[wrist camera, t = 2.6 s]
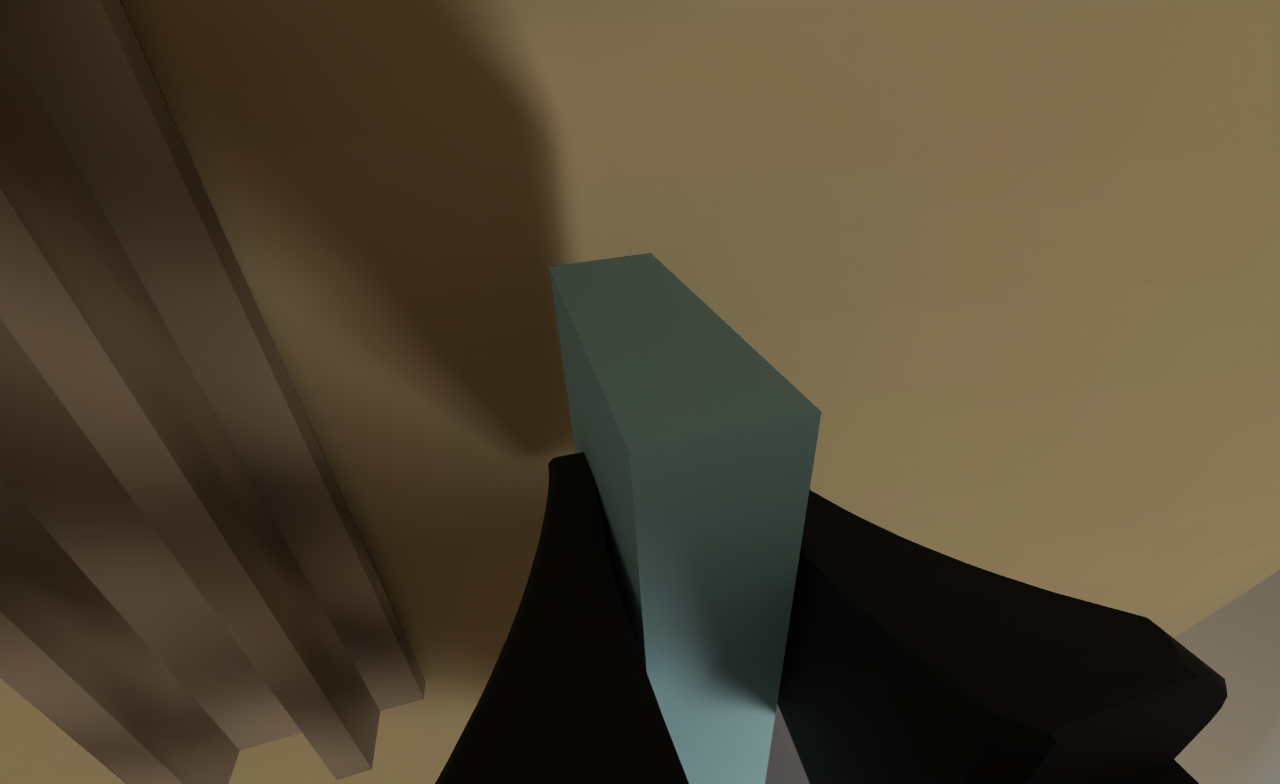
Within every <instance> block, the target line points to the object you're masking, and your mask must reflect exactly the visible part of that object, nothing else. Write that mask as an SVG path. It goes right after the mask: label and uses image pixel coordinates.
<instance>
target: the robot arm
mask: <svg viewBox="0 0 1280 784" xmlns="http://www.w3.org/2000/svg"><path fill="white" fill-rule="evenodd" d="M548 466H549V490H548V498H547V505H546V511H545V516H544V521H543V526H542V531H541V536H540V540H539V544H538V548H537V551H536V555H535V558H534V562H533V565H532V569H531V572H530V576H529V579H528V582H527V585H526V588H525V591H524V594H523V597H522V600H521V603H520V606H519V609H518V611H517V614H516V617H515V619H514V622H513V624H512V627H511V630H510V632H509V635H508V637H507V640H506V642H505V644H504V646H503V649H502V651H501V653H500V656H499V658H498V660H497V663H496V665H495V667H494V670H493V672H492V674H491V676H490V679H489V681H488V683H487V685H486V687H485V689H484V691H483V693H482V696H481V698H480V700H479V702H478V704H477V706H476V708H475V709H474V711H473V713H472V715H471V717H470V719H469V721H468V723H467V725H466V727H465V729H464V731H463V733H462V734H461V736H460V738H459V740H458V742H457V744H456V746H455V748H454V750H453V752H452V754H451V756H450V758H449V760H448V761H447V763H446V765H445V767H444V769H443V771H442V772H441V774H440V776H439V778H438V779H437V781H436V783H435V784H689V782H688V780H687V777H686V774H685V772H684V769H683V767H682V764H681V762H680V759H679V757H678V754H677V751H676V749H675V746H674V744H673V741H672V739H671V736H670V733H669V731H668V728H667V726H666V723H665V721H664V718H663V715H662V713H661V710H660V707H659V704H658V702H657V699H656V696H655V694H654V691H653V688H652V685H651V683H650V680H649V677H648V674H647V672H646V669H645V666H644V664H643V661H642V658H641V655H640V652H639V649H638V647H637V644H636V641H635V638H634V635H633V632H632V629H631V626H630V623H629V621H628V618H627V615H626V612H625V609H624V606H623V603H622V600H621V597H620V594H619V591H618V588H617V585H616V582H615V579H614V575H613V572H612V569H611V565H610V561H609V557H608V552H607V547H606V542H605V536H604V530H603V525H602V519H601V513H600V508H599V502H598V496H597V491H596V485H595V479H594V476H593V473H592V471H591V468H590V466H589V463H588V461H587V459H586V456H585V454H584V452H581V453H576V454H571V455H566V456H561V457H555V458H553V459H552V460H551V461H550V462H549V464H548ZM1226 697H1227V690H1226V684H1225V679H1224V678H1223V677H1221V676H1220V675H1219V674H1217V673H1216V672H1215V671H1214V670H1213V669H1211V668H1210V667H1209V666H1208V665H1206V664H1205V663H1204V662H1203V661H1201V660H1200V659H1199V658H1197V657H1196V656H1195V655H1194V654H1193V653H1191V652H1190V651H1188V650H1187V649H1186V648H1185V647H1184V646H1182V645H1181V644H1180V643H1179V642H1177V641H1176V640H1175V639H1174V638H1172V637H1171V636H1170V635H1169V634H1167V633H1166V632H1165V631H1164V630H1162V629H1161V628H1160V627H1158V626H1157V625H1156V624H1155V623H1153V622H1152V621H1151V620H1149V619H1148V618H1146V617H1142V616H1139V615H1135V614H1131V613H1128V612H1124V611H1120V610H1117V609H1113V608H1109V607H1105V606H1102V605H1098V604H1094V603H1091V602H1087V601H1083V600H1080V599H1076V598H1072V597H1069V596H1065V595H1061V594H1057V593H1054V592H1051V591H1047V590H1044V589H1041V588H1038V587H1035V586H1032V585H1029V584H1026V583H1023V582H1019V581H1016V580H1013V579H1010V578H1007V577H1004V576H1001V575H998V574H995V573H992V572H989V571H987V570H984V569H981V568H978V567H975V566H972V565H970V564H967V563H964V562H962V561H959V560H957V559H954V558H951V557H949V556H946V555H944V554H941V553H939V552H936V551H934V550H931V549H929V548H926V547H924V546H921V545H919V544H917V543H914V542H912V541H910V540H907V539H905V538H903V537H900V536H898V535H896V534H894V533H892V532H890V531H887V530H885V529H883V528H881V527H879V526H877V525H875V524H873V523H871V522H868V521H866V520H864V519H862V518H860V517H858V516H856V515H854V514H852V513H850V512H848V511H847V510H845V509H843V508H841V507H839V506H837V505H836V504H834V503H832V502H830V501H828V500H827V499H825V498H823V497H821V496H820V495H818V494H816V493H814V492H812V491H811V490H809V496H808V503H807V509H806V516H805V522H804V529H803V536H802V542H801V549H800V556H799V562H798V569H797V575H796V582H795V589H794V595H793V602H792V608H791V615H790V622H789V628H788V635H787V641H786V648H785V655H784V661H783V668H782V674H781V681H780V688H779V694H778V701H777V708H776V714H775V721H774V727H773V734H772V741H771V747H770V754H769V760H768V767H767V774H766V780H765V784H1199V783H1198V782H1197V781H1196V780H1195V779H1194V778H1193V777H1192V776H1190V775H1189V774H1188V773H1187V772H1186V771H1185V770H1184V769H1183V768H1182V767H1181V766H1180V765H1179V764H1178V763H1177V762H1176V761H1175V760H1174V759H1175V757H1176V756H1177V755H1178V754H1179V753H1180V752H1181V751H1182V750H1183V749H1184V748H1185V747H1186V746H1187V745H1188V744H1189V743H1190V742H1191V741H1192V740H1193V739H1194V738H1195V736H1197V734H1198V733H1199V732H1200V731H1201V730H1202V729H1203V728H1204V727H1205V726H1206V725H1207V724H1208V723H1209V722H1210V721H1211V720H1212V718H1213V717H1214V716H1215V715H1216V714H1217V712H1218V711H1219V710H1220V709H1221V707H1222V705H1223V703H1224V701H1225V700H1226Z"/></svg>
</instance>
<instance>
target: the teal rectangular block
mask: <svg viewBox="0 0 1280 784" xmlns="http://www.w3.org/2000/svg"><path fill="white" fill-rule="evenodd" d="M549 272H550V279H551V286H552V293H553V300H554V307H555V314H556V321H557V328H558V335H559V342H560V349H561V355H562V362H563V369H564V376H565V383H566V390H567V397H568V404H569V411H570V418H571V425H572V432H573V438H574V445H575V452H576V453H581V452H584V454H585V456H586V459H587V461H588V463H589V466H590V468H591V471H592V473H593V476H594V479H595V485H596V491H597V496H598V502H599V508H600V513H601V519H602V525H603V530H604V536H605V542H606V547H607V552H608V557H609V561H610V565H611V569H612V572H613V575H614V579H615V582H616V585H617V588H618V591H619V594H620V597H621V600H622V603H623V606H624V609H625V612H626V615H627V618H628V621H629V623H630V626H631V629H632V632H633V635H634V638H635V641H636V644H637V647H638V649H639V652H640V655H641V658H642V661H643V664H644V666H645V669H646V672H647V674H648V677H649V680H650V683H651V685H652V688H653V691H654V694H655V696H656V699H657V702H658V704H659V707H660V710H661V713H662V715H663V718H664V721H665V723H666V726H667V728H668V731H669V733H670V736H671V739H672V741H673V744H674V746H675V749H676V751H677V754H678V757H679V759H680V762H681V764H682V767H683V769H684V772H685V774H686V777H687V780H688V782H689V784H765V780H766V774H767V767H768V760H769V754H770V747H771V741H772V734H773V727H774V721H775V714H776V708H777V701H778V694H779V688H780V681H781V674H782V668H783V661H784V655H785V648H786V641H787V635H788V628H789V622H790V615H791V608H792V602H793V595H794V589H795V582H796V575H797V569H798V562H799V556H800V549H801V542H802V536H803V529H804V522H805V516H806V509H807V503H808V496H809V489H810V483H811V476H812V470H813V463H814V456H815V450H816V443H817V437H818V430H819V423H820V417H821V411H820V410H819V409H818V408H817V407H816V406H814V405H813V404H812V403H811V402H810V401H809V400H808V399H807V398H806V397H805V396H804V395H803V394H802V393H800V392H799V391H798V390H797V389H796V388H795V387H794V386H793V385H792V384H791V383H790V382H789V381H788V380H786V379H785V378H784V377H783V376H782V375H781V374H780V373H779V372H778V371H777V370H776V369H775V368H774V367H773V366H771V365H770V364H769V363H768V362H767V361H766V360H765V359H764V358H763V357H762V356H761V355H760V354H759V353H757V352H756V351H755V350H754V349H753V348H752V347H751V346H750V345H749V344H748V343H747V342H746V341H745V340H744V339H742V338H741V337H740V336H739V335H738V334H737V333H736V332H735V331H734V330H733V329H732V328H731V327H730V326H728V325H727V324H726V323H725V322H724V321H723V320H722V319H721V318H720V317H719V316H718V315H717V314H716V313H714V312H713V311H712V310H711V309H710V308H709V307H708V306H707V305H706V304H705V303H704V302H703V301H702V300H701V299H699V298H698V297H697V296H696V295H695V294H694V293H693V292H692V291H691V290H690V289H689V288H688V287H687V286H685V285H684V284H683V283H682V282H681V281H680V280H679V279H678V278H677V277H676V276H675V275H674V274H673V273H672V272H670V271H669V270H668V269H667V268H666V267H665V266H664V265H663V264H662V263H661V262H660V261H659V260H658V259H656V258H655V257H654V256H653V255H652V254H651V253H647V254H640V255H632V256H625V257H618V258H610V259H603V260H595V261H588V262H580V263H573V264H565V265H558V266H550V267H549Z"/></svg>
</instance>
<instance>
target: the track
mask: <svg viewBox="0 0 1280 784" xmlns="http://www.w3.org/2000/svg"><path fill="white" fill-rule="evenodd" d="M0 678H1V679H3V680H4V681H5V682H6V683H7V684H8V685H10V686H11V687H12V688H13V689H14V690H16V691H17V692H18V693H19V694H20V695H21V696H23V697H24V698H25V699H26V700H27V701H29V702H30V703H31V704H32V705H33V706H34V707H36V708H37V709H38V710H39V711H40V712H42V713H43V714H44V715H45V716H46V717H48V718H49V719H50V720H51V721H52V722H53V723H55V724H56V725H57V726H58V727H59V728H61V729H62V730H63V731H64V732H65V733H66V734H68V735H69V736H70V737H71V738H72V739H74V740H75V741H76V742H77V743H78V744H79V745H81V746H82V747H83V748H84V749H85V750H87V751H88V752H89V753H90V754H91V755H93V756H94V757H95V758H96V759H97V760H98V761H100V762H101V763H102V764H103V765H104V766H106V767H107V768H108V769H109V770H110V771H111V772H113V773H114V774H115V775H116V776H117V777H119V778H120V779H121V780H122V781H123V782H124V783H126V784H228V783H229V780H230V777H231V774H232V771H233V768H234V765H235V762H236V759H237V756H238V754H239V751H240V750H242V749H245V748H249V747H253V746H256V745H260V744H263V743H267V742H270V741H274V740H277V739H281V738H285V737H288V736H292V735H295V734H299V733H303V734H304V736H305V737H306V738H307V740H308V741H309V743H310V744H311V745H312V747H313V748H314V749H315V751H316V752H317V754H318V755H319V756H320V758H321V759H322V760H323V762H324V763H325V765H326V766H327V767H328V769H329V770H330V771H331V773H332V774H333V776H334V777H335V778H336V780H337V779H340V778H344V777H347V776H350V775H354V774H357V773H360V772H364V771H367V770H370V769H372V764H373V757H374V750H375V743H376V736H377V729H378V722H379V715H380V711H381V710H384V709H388V708H392V707H395V706H399V705H402V704H406V703H409V702H413V701H417V700H420V699H424V690H425V680H424V678H423V676H422V674H421V671H420V669H419V667H418V665H417V662H416V660H415V658H414V656H413V654H412V651H411V649H410V647H409V645H408V642H407V640H406V638H405V636H404V633H403V631H402V629H401V627H400V625H399V622H398V620H397V618H396V616H395V613H394V611H393V609H392V607H391V604H390V602H389V600H388V598H387V596H386V593H385V591H384V589H383V587H382V584H381V582H380V580H379V578H378V575H377V573H376V571H375V569H374V567H373V564H372V562H371V560H370V558H369V555H368V553H367V551H366V549H365V546H364V544H363V542H362V540H361V538H360V535H359V533H358V531H357V529H356V526H355V524H354V522H353V520H352V517H351V515H350V513H349V511H348V509H347V506H346V504H345V502H344V500H343V497H342V495H341V493H340V491H339V488H338V486H337V484H336V482H335V480H334V477H333V475H332V473H331V471H330V468H329V466H328V464H327V462H326V459H325V457H324V455H323V453H322V451H321V448H320V446H319V444H318V442H317V439H316V437H315V435H314V433H313V430H312V428H311V426H310V424H309V422H308V419H307V417H306V415H305V413H304V410H303V408H302V406H301V404H300V401H299V399H298V397H297V395H296V393H295V390H294V388H293V386H292V384H291V381H290V379H289V377H288V375H287V372H286V370H285V368H284V366H283V364H282V361H281V359H280V357H279V355H278V352H277V350H276V348H275V346H274V343H273V341H272V339H271V337H270V335H269V332H268V330H267V328H266V326H265V323H264V321H263V319H262V317H261V314H260V312H259V310H258V308H257V306H256V303H255V301H254V299H253V297H252V294H251V292H250V290H249V288H248V285H247V283H246V281H245V279H244V277H243V274H242V272H241V270H240V268H239V265H238V263H237V261H236V259H235V256H234V254H233V252H232V250H231V248H230V245H229V243H228V241H227V239H226V236H225V234H224V232H223V230H222V227H221V225H220V223H219V221H218V219H217V216H216V214H215V212H214V210H213V207H212V205H211V203H210V201H209V198H208V196H207V194H206V192H205V190H204V187H203V185H202V183H201V181H200V178H199V176H198V174H197V172H196V169H195V167H194V165H193V163H192V161H191V158H190V156H189V154H188V152H187V149H186V147H185V145H184V143H183V140H182V138H181V136H180V134H179V132H178V129H177V127H176V125H175V123H174V120H173V118H172V116H171V114H170V111H169V109H168V107H167V105H166V103H165V100H164V98H163V96H162V94H161V91H160V89H159V87H158V85H157V82H156V80H155V78H154V76H153V74H152V71H151V69H150V67H149V65H148V62H147V60H146V58H145V56H144V53H143V51H142V49H141V47H140V45H139V42H138V40H137V38H136V36H135V33H134V31H133V29H132V27H131V24H130V22H129V20H128V18H127V16H126V13H125V11H124V9H123V7H122V4H121V2H120V0H0Z"/></svg>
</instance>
